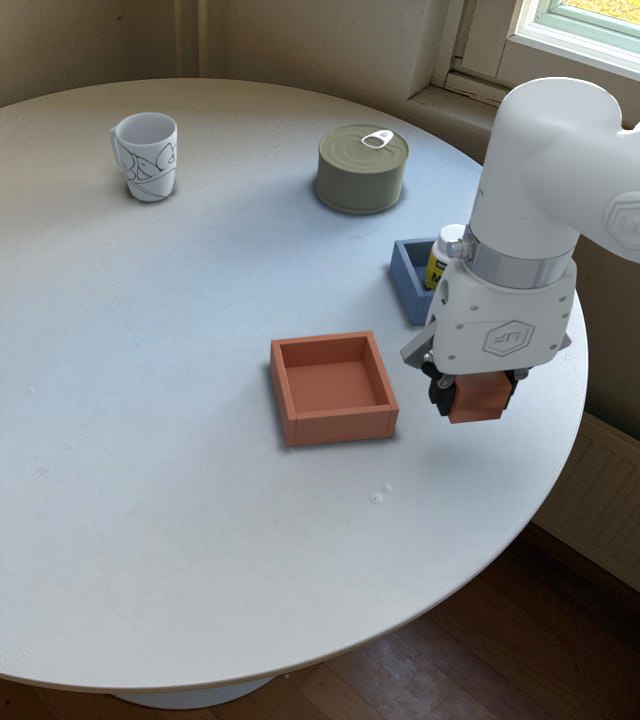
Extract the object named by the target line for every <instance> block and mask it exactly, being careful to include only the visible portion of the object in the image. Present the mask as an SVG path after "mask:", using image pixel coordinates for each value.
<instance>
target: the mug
mask: <svg viewBox="0 0 640 720" xmlns="http://www.w3.org/2000/svg"><path fill="white" fill-rule="evenodd" d="M108 136H109V143H110V145H111V149H112V152H113V156H114V160H115V162H116V164H117V166H118V167H119V168H120V169H122V170H123V171H122V172H123V173H124V177H125V180H126V183H127V186H128V188H129V191H130V193H131V195H132V196H133V197H134V198H135V199H137V200H139V201H142V202H148V203H149V202H150V203H151V202H158V201H161V200H163V199H166V198H167V197H168V196H169V195H171V193H172V191H173V189H174V185H175V178H176V177H175V175H176V168H177V161H178V160H177V159H178V158H177V157H178V127H177V123H176V122H175V120H174V119H173V118H172V117H170V116H169V115H167V114H164V113H161V112H152V111H151V112H139V113H135V114H132V115H129V116H127V117H125V118H123V119H122V120H121V121H120V122H119V123H118V124H117V125H115V126H113V127H112V128H111V129H110V130H109V131H108Z"/></svg>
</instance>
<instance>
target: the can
mask: <svg viewBox="0 0 640 720" xmlns="http://www.w3.org/2000/svg"><path fill="white" fill-rule="evenodd" d="M317 150H318V151H317V152H318V161H317V162H318V163H317V173H316V174H317V175H316V184H315V192H316V195H317V196H318V199H319V200H320V201H321V202H322V203H323V204H324V205H326V206H327V207H328V208H330V209H333V210H334V211H337V212H340V213H343V214H348V215H356V216H359V215H360V216H366V215H367V216H368V215H374V214H375V215H376V214H378V213H381V212H382V213H383V212H385V211H387V210H389V209H391V208H392V207H393V206H394V205H395V204H397V202H398V200H399V199H400V196H401V192H402V191H401V190H402V186H403V181H404V176H405V171H406V166H407V162H408V160H409V158H410V154H411V153H410V152H411V148H410V145H409V142H408V141H407V140H406V139H405V137H404V136H402V135H401V134H400V133H398V132H397V131H395V130H393V129H391V128H388V127H385V126H382V125H378V124H372V123H371V124H370V123H353V124H352V123H351V124H345V125H341V126H337V127H336V128H333V129H331V130H329V131H328V132H327V133H325V134H324V135H323V136H322V137H321V138H320V140H319V143H318V147H317Z"/></svg>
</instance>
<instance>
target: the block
mask: <svg viewBox="0 0 640 720" xmlns="http://www.w3.org/2000/svg"><path fill="white" fill-rule="evenodd" d="M454 384H455V387H456V393H455V396H454V400H453V403H452V406H451V410H450V413H449V414H448V416H447V418H448V421H449V423H450V424H451V425H456V424H465V423H474V422H475V423H476V422H484V421H485V422H486V421H494V420H500V419H501V418H502V415H503V412H504V411H505V410H504V407H505V404H506V402H507V399H508V396H509V394H510V391H511V388H512V386H511V384H510V382H509V380H508V378H507V376H506V374H505V372H504V370H501V371H492V372H482V373H472V374H458V376H457V377H456V379H455V380H454Z"/></svg>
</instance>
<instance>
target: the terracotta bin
mask: <svg viewBox="0 0 640 720" xmlns="http://www.w3.org/2000/svg"><path fill="white" fill-rule="evenodd" d="M269 371H270V376H271V381H272V385H273V390H274V395H275V400H276V404H277V409H278V414H279V418H280V423H281V427H282V433H283V436H284V441H285V445H286V447H287V448H289V447H297V446H308V445H309V446H310V445H317V444H318V445H319V444H320V445H321V444H328V443H341V442H351V441H362V440H371V439H382V438H392V437H394V433H395V430H396V425H397V421H398V418H399V415H400V409H401V408H400V406H399V403H398V401H397V398H396V395H395V392H394V388H393V386H392V383H391V381H390V378H389V375H388V371H387V369H386V366H385V363H384V361H383V357H382V355H381V351H380V349H379V346H378V344H377V341H376V338H375V335H374V332H373V330H362V331H351V332H341V333H329V334H320V335H311V336H310V335H308V336H298V337H289V338H288V337H287V338H280V339H279V338H278V339H271V340H270V351H269Z"/></svg>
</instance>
